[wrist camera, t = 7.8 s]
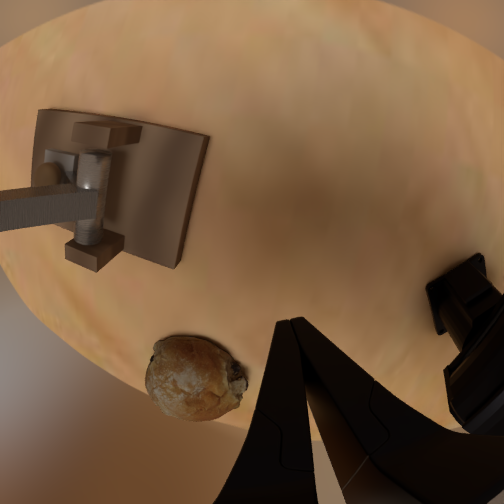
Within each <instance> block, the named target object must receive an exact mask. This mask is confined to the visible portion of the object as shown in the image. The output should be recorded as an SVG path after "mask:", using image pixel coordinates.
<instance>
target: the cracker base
mask: <svg viewBox="0 0 504 504" xmlns="http://www.w3.org/2000/svg"><path fill="white" fill-rule="evenodd" d="M209 138H210V136H207V135H203V134H199V133H195V132H190V131H186V130H182V129H177V128H173V127H168V126H163V125H159V124H154V123H148V122H143V121H138V120H132V119H126V118H120V117H114V116H107V115H100V114H93V113H85V112H77V111H67V110H57V109H40V110H38V115H37V122H36V129H35V137H34V146H33V157H32V172H31V187H38V186H48V185H60V184H63V182H64V171H77V169H78V160H79V153H80V151H81V150H83V149H102V150H107V151H110V152H112V158H111V164H110V171H109V178H108V186H107V194H106V204H105V215H104V227H103V239H102V241H101V242H100V243H98V244H95V245H82V244H79V243H77V242H76V241H75V240H74V238H73V239H72V240H70V241H69V242H67V243H66V244H65V259H67V260H69V261H71V262H74V263H76V264H78V265H80V266H82V267H85V268H87V269H89V270H92V271H94V272H96V273H97V272H98V271H99V270H100V269H101V268H102V267H104V266H105V265H106V264H107V263H108V262H109V261H110V260H112V259H113V258H114V257H115V256H116V255H117V254H119V253H120V252H121V251H124V252H127V253H129V254H132V255H135V256H138V257H140V258H143V259H146V260H149V261H151V262H154V263H157V264H160V265H163V266H165V267H168V268H171V269H175V268H176V266H177V265H178V264H179V262H180V261H181V256H182V251H183V246H184V241H185V236H186V232H187V227H188V222H189V218H190V214H191V209H192V205H193V200H194V196H195V192H196V188H197V184H198V180H199V176H200V172H201V168H202V164H203V160H204V156H205V153H206V149H207V145H208V142H209ZM55 225H57V226H60V227H62V228H64V229H67V230H69V231H72V232H74V221H70V222H63V223H55Z"/></svg>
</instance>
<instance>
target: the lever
mask: <svg viewBox="0 0 504 504" xmlns="http://www.w3.org/2000/svg"><path fill="white" fill-rule="evenodd" d="M111 158H112V152H110V151H107V150H102V149H83V150H81V151H80V153H79V160H78V169H77V171H64V182H63V184H60V185H48V186H38V187H28V188H19V189H11V190H3V191H0V232H2V231H8V230H14V229H20V228H27V227H34V226H41V225H48V224H55V223H63V222H70V221H74V240H75V241H76V242H77V243H79V244H82V245H95V244H98V243H100V242H101V241H102V239H103V227H104V215H105V204H106V194H107V186H108V178H109V171H110V164H111Z"/></svg>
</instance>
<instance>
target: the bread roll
mask: <svg viewBox="0 0 504 504" xmlns="http://www.w3.org/2000/svg"><path fill="white" fill-rule="evenodd" d="M153 349H154V350H155V353H154V355H153V356H152V357H151V359H150V364H149V365H148V368H147V371H146V377H145V386H146V389H147V392H148V394H149V396H150V398H151V399H152V400H153V402H154V403H155V404H156V405H157V406H159V407H160V408H161V411H162V412H163V413H164V414H166V415H169V416H173V417H176V418H178V419H181V420H186V421H196V422H197V421H210V420H214V419H217V418H219V417H221V416H222V415H224V414H226V413H227V412H229V411H231V410H232V409H236V408H238V407H239V405H240V401H241V400H242V399H243V396H242V394H243V392H245V391H246V390H247V388H248V381H247V380H246V379H245V378H244V377H243V376H242V375H241V369H240V366H239V365H238V364H237V362H235V361H234V360H233V359H232V357H231V356H230V355H229V354H228V353H226V352H225V351H223V350H221V349H220V348H218V347H217V346H216V345H214V344H213V343H211V342H209V341H205V340H203V339H197V338H194V337H191V336H190V337H170V338H168V339H166V340H165V341H161V340H159V341H158V342H157V343H155V344H154V347H153Z"/></svg>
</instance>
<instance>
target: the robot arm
mask: <svg viewBox="0 0 504 504" xmlns="http://www.w3.org/2000/svg"><path fill="white" fill-rule="evenodd" d="M479 258H480V260H479ZM478 260H479V261H478ZM432 287H433V288H432ZM431 288H432V289H431ZM430 289H431V290H430ZM426 292H427V296H428V300H429V304H430V307H431V312H432V316H433V320H434V324H435V329H436V332H437V334H438V335H442V334H444V333H446V332H447V331H448V333H449V334H450V336H451V338H452V339H453V341H454V343H455V345H456V346H457V348H458V350H459V352H460V353H459V354H458V356H457V357H456V358H455V359H454V360H453V361H452V362H451V364H450V365H447V367H446V368H445V369H444V370H443V372H444V378H445V384H446V391H447V398H448V405H449V411H450V413H451V414H452V415H453V417H454V418H455V420H456V421H457V422H458V423H459V424H460V425H461V426H462V428H463V429H464V430H466V431H467V432H469V433H470V434H466V433H458V432H454V431H451V430H449V429H446V428H444V427H442V426H441V425H439V424H437V423H436V422H434V421H432V420H431V419H429V418H428V417H426V416H424V415H423V414H421V413H420V412H418V411H417V410H415V409H413V408H412V407H410V406H409V405H407V404H406V403H404V402H403V401H402V400H400V399H399V398H397V397H396V396H395V395H393V394H392V393H391V392H390V391H388V390H387V389H386V388H385V387H383V386H382V385H381V384H380V383H379V382H378V381H376V380H375V381H374V378H373V377H372V376H370V375H369V374H368V373H367V372H366V371H365V370H364V369H362V368H361V367H360V366H359V365H358V364H357V363H355V362H354V361H353V360H352V359H351V358H350V357H348V356H347V355H346V354H345V353H344V352H343V351H342V350H340V349H339V348H338V347H337V346H336V345H335V344H334V343H332V342H331V341H330V340H329V339H328V338H327V337H326V336H324V335H323V334H322V333H321V332H320V331H319V330H318V329H316V328H315V327H314V326H313V325H312V324H311V323H310V322H308V321H307V320H306V319H305V318H304V317H296V318H292V319H290V320H288V319H286V320H281V321H277V322H276V325H275V329H274V334H273V338H272V342H271V346H270V351H269V355H268V359H267V363H266V367H265V371H264V375H263V379H262V383H261V387H260V391H259V395H258V399H257V403H256V407H255V410H254V414H253V417H252V421H251V424H250V427H249V431H248V434H247V437H246V439H245V442H244V444H243V446H242V449H241V451H240V454H239V456H238V458H237V460H236V462H235V464H234V466H233V468H232V470H231V472H230V474H229V477H228V479H227V480H226V482H225V485H224V486H223V488H222V490H221V492H220V494H219V495H218V497H217V498H216V500H215V501H214V502H213V504H318V499H317V492H316V485H315V475H314V463H313V453H312V443H311V434H310V425H309V416H308V407H307V401H308V403H309V406H310V409H311V411H312V414H313V417H314V419H315V422H316V425H317V427H318V430H319V432H320V435H321V438H322V440H323V443H324V446H325V448H326V451H327V453H328V456H329V459H330V461H331V464H332V467H333V470H334V472H335V475H336V477H337V480H338V483H339V486H340V488H341V490H342V493H343V496H344V499H345V502H346V504H504V293H503V295H502V294H501V293H500V292H499V291H498V290H497V289H496V288H495V287H494V286H493V285H492V283H491V282H490V281H489V280H488V279H487V276H486V267H485V260H484V256H483V255H482V254H481V253H478V254H476V255H475V256H473V257H472V258H470V259H469V260H467V261H465V262H464V263H462V264H461V265H459V266H458V267H456V268H454V269H453V270H451V271H449V272H448V273H446V274H444V275H443V276H441V277H439V278H438V279H436V280H434V281H432V282H431V283H429V284H428V285H427V286H426ZM441 329H442V330H441ZM306 398H307V399H306Z"/></svg>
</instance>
